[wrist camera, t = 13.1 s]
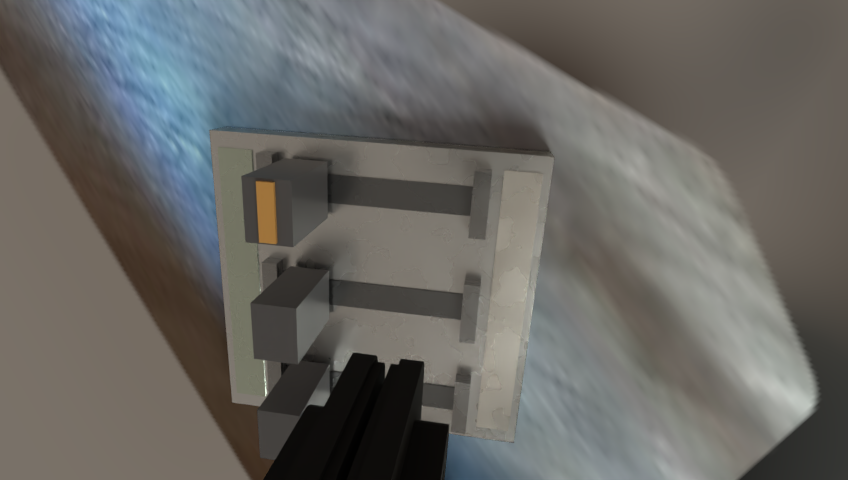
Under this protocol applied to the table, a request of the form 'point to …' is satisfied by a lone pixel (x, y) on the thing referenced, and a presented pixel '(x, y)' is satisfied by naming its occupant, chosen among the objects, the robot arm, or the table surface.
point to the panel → (399, 265)
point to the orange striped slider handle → (284, 201)
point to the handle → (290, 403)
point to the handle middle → (290, 314)
